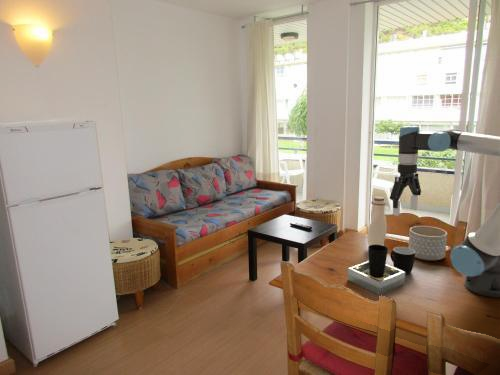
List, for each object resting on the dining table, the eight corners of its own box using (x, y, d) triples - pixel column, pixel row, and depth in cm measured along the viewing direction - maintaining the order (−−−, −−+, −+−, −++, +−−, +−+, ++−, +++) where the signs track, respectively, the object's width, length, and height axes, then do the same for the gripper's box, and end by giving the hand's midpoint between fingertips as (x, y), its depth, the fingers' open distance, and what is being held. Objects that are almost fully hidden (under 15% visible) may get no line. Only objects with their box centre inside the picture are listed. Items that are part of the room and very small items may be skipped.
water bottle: (362, 247, 193) (365, 195, 187) (379, 246, 194) (382, 194, 188) (371, 254, 183) (374, 200, 177) (388, 253, 184) (391, 199, 178)
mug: (418, 274, 160) (420, 252, 158) (402, 277, 157) (403, 255, 155) (398, 263, 171) (399, 243, 169) (382, 267, 168) (383, 246, 166)
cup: (375, 280, 148) (377, 252, 146) (363, 273, 155) (364, 246, 153) (390, 276, 151) (392, 249, 149) (377, 269, 158) (378, 243, 156)
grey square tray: (404, 284, 152) (405, 271, 150) (379, 295, 143) (380, 282, 142) (372, 270, 165) (373, 259, 164) (347, 280, 156) (348, 268, 155)
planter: (423, 264, 170) (425, 238, 168) (400, 251, 186) (402, 227, 183) (452, 260, 174) (455, 234, 172) (428, 247, 190) (430, 224, 187)
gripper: (415, 159, 164) (412, 205, 168) (382, 165, 150) (380, 216, 154) (431, 161, 158) (428, 208, 162) (398, 167, 144) (396, 219, 148)
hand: (404, 212), depth 158 cm, fingers open, 13 cm apart
